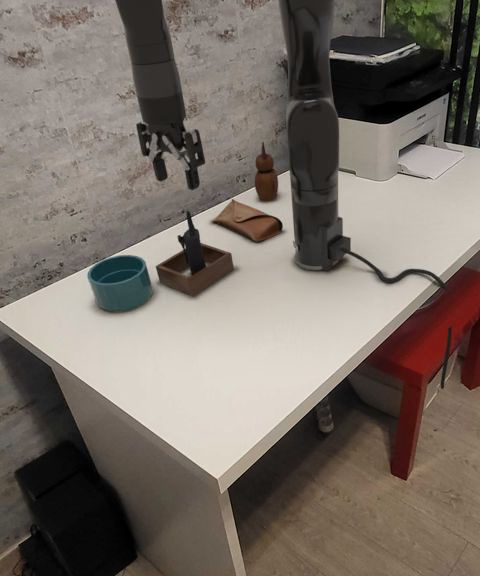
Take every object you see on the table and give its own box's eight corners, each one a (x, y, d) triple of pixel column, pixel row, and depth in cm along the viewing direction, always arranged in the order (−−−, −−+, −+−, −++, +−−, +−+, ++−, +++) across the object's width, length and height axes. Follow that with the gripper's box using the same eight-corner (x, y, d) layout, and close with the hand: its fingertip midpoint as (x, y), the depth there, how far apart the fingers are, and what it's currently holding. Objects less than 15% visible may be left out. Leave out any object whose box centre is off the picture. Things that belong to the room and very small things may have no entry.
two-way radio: (208, 281, 109) (195, 213, 100) (187, 284, 109) (172, 217, 99) (206, 267, 113) (193, 202, 104) (186, 271, 113) (171, 205, 103)
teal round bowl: (164, 291, 107) (157, 264, 103) (121, 319, 101) (111, 291, 96) (129, 276, 113) (121, 249, 109) (86, 302, 106) (75, 274, 102)
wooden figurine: (275, 203, 137) (270, 144, 127) (254, 202, 138) (247, 144, 128) (281, 192, 142) (276, 135, 132) (260, 192, 143) (254, 135, 133)
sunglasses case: (208, 220, 130) (215, 194, 128) (229, 225, 135) (236, 199, 134) (257, 242, 120) (266, 214, 118) (277, 246, 125) (286, 219, 123)
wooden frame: (234, 269, 112) (231, 253, 110) (193, 296, 105) (189, 279, 102) (200, 257, 117) (197, 241, 115) (159, 282, 110) (155, 266, 108)
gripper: (205, 89, 87) (219, 184, 97) (148, 80, 94) (167, 170, 104) (171, 100, 82) (190, 199, 93) (114, 91, 89) (137, 183, 100)
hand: (177, 184), depth 98 cm, fingers open, 8 cm apart
